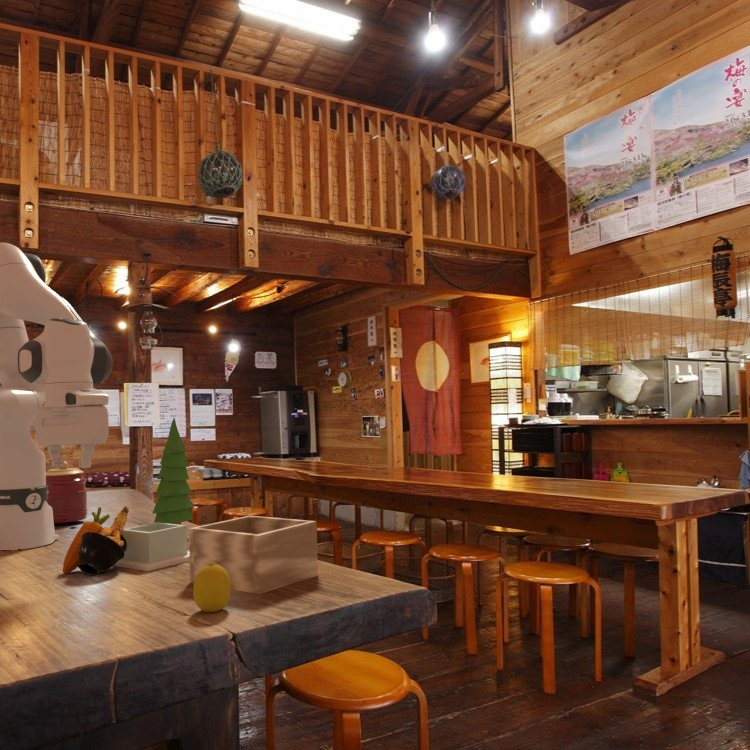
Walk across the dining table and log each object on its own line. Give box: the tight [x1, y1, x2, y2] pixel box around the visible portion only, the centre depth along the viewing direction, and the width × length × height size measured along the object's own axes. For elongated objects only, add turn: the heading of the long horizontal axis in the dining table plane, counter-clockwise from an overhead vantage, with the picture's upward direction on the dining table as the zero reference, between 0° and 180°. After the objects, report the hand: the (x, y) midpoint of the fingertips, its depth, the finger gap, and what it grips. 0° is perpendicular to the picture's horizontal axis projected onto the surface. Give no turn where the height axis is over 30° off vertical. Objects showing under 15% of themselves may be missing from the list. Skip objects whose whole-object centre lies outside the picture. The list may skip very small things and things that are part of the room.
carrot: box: [62, 506, 111, 575], centre depth 133 cm, size 5×5×15 cm
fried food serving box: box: [188, 515, 319, 595], centre depth 120 cm, size 17×15×10 cm
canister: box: [46, 460, 88, 524], centre depth 201 cm, size 13×13×18 cm
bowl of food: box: [77, 505, 130, 576], centre depth 133 cm, size 9×11×18 cm
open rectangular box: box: [113, 522, 190, 572], centre depth 139 cm, size 14×14×7 cm
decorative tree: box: [151, 417, 195, 542], centre depth 161 cm, size 10×9×30 cm
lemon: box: [192, 562, 232, 613], centre depth 100 cm, size 6×6×8 cm
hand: (71, 467), depth 132 cm, fingers open, 8 cm apart
